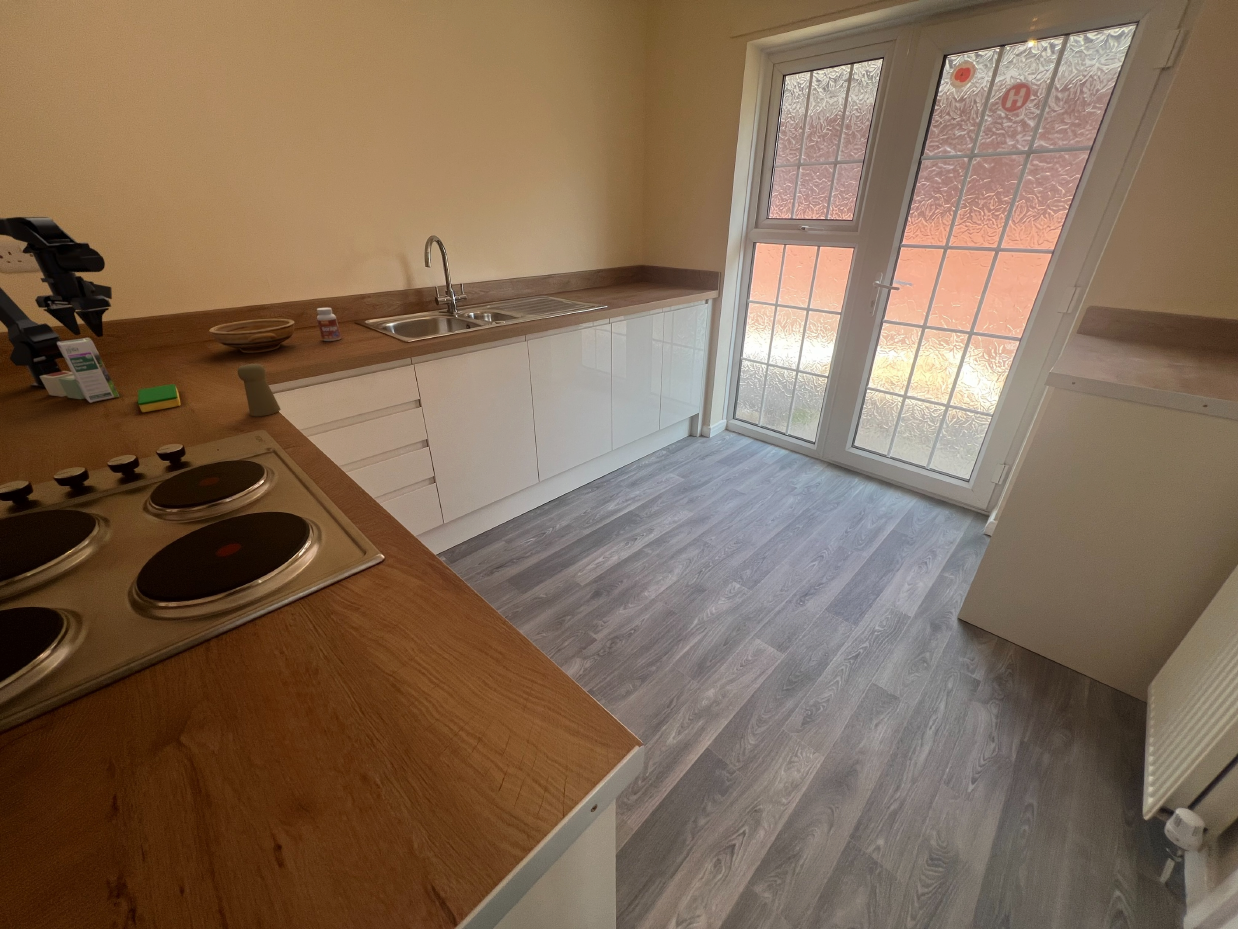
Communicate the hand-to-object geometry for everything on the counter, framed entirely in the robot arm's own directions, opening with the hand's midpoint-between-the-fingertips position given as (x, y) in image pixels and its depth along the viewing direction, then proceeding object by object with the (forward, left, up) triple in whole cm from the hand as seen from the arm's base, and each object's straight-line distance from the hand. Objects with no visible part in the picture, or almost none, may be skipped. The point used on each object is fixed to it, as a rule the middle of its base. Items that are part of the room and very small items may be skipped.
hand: (89, 335), depth 132 cm
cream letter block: (-2, -9, -13) cm, 16 cm away
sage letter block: (+6, -9, -13) cm, 17 cm away
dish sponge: (+31, -7, -13) cm, 34 cm away
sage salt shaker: (+62, -4, -13) cm, 64 cm away
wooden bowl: (+3, +42, -13) cm, 44 cm away
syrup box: (+12, -9, -13) cm, 20 cm away
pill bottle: (+16, +60, -13) cm, 63 cm away
